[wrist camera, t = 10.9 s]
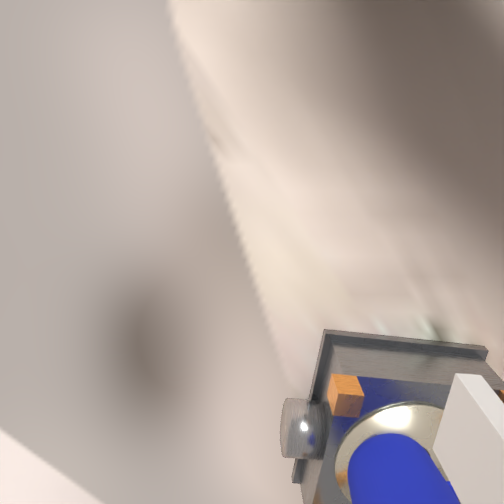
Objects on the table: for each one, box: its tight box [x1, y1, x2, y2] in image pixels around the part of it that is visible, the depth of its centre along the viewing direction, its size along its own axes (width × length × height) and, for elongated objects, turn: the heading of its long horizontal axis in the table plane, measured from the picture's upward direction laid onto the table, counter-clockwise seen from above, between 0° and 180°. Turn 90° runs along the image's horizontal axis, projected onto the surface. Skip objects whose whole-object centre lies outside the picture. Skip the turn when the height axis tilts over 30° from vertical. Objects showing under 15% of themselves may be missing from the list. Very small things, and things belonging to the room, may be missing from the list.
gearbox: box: [280, 329, 504, 504], centre depth 43 cm, size 17×18×8 cm
